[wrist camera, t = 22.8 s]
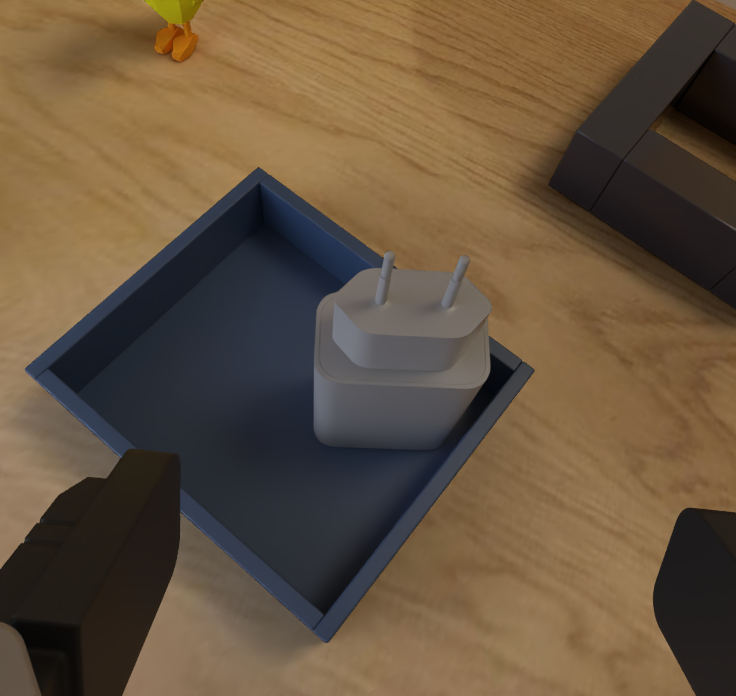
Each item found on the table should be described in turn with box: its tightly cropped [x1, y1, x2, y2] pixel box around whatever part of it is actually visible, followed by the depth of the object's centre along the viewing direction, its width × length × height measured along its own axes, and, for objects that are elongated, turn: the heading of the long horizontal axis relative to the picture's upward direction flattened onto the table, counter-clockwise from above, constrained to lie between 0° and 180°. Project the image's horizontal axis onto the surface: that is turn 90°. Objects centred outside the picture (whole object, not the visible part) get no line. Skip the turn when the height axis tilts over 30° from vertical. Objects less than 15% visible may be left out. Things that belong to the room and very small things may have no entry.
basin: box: [25, 167, 535, 643], centre depth 26 cm, size 14×12×4 cm
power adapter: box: [314, 251, 492, 450], centre depth 21 cm, size 3×5×12 cm, turn 89°
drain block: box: [548, 0, 736, 309], centre depth 32 cm, size 12×12×4 cm
